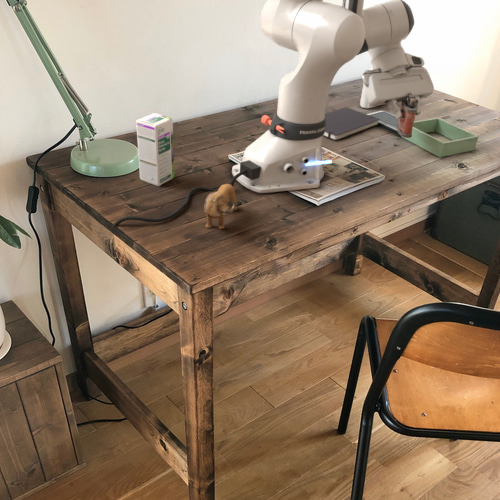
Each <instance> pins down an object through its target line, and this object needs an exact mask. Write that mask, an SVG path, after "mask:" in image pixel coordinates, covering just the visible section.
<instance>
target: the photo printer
mask: <svg viewBox="0 0 500 500" xmlns="http://www.w3.org/2000/svg"><path fill="white" fill-rule="evenodd" d="M369 70H374V69H373V67H371V68H369ZM359 106H360V107H361V108H363V109H366V110H367V109H372V108H376V107H378V106H380V105H378V106H371V105H370V104H369V103H368V100H367V96H366V92H365V87H364V82H363V84H362V89H361V95H360V101H359Z"/></svg>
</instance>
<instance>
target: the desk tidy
mask: <svg viewBox="0 0 500 500" xmlns="http://www.w3.org/2000/svg"><path fill="white" fill-rule="evenodd" d="M434 132H435V133H437V134H439V135H441V136H443V137H445V138H447V139H449V140H450V141H449V140H448V141H442V140H440V139H438V138H436V137H434V136H432V135H430V134H428V133H434ZM400 136H401V135H400ZM401 138H403V139H405V140H407V141H408V142H411V143H413V144H414V145H416V146H417V147H419V148H421V149H424V150H426V151H427V152H429V153H431V154H433V155H434V156H437V157H438V158H444V157H448V156H453V155H458V154H462V153H463V154H464V153H467V152H472V151H475V150H476V147H477V144H478V140H479V136H478V135H477V134H474V133H472V132H470V131H468V130H466V129H464V128H462V127H459V126H457V125H455V124H453V123H451V122H449V121H447V120H445V119H443V118H441V117H434V118H428V119H421V120H416V121H414V124H413V129H412V137H411V138H405V137H402V136H401Z"/></svg>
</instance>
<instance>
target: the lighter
mask: <svg viewBox="0 0 500 500" xmlns="http://www.w3.org/2000/svg"><path fill="white" fill-rule="evenodd" d="M415 102H416V99H415V95H412V93H408V95H407V99H403V100H402V102H401V108H400V110H401V109H403V111H404V114H405V115H404V117H402V118H398V122H397V124H396V131H397V133H398V135H399V136H402V137H401V138H403V137H405V138H411V137H412V129H413V124H414V122H415V119H416V116H417V115H416V112H417V110H418V108H417V105H416V104H415ZM405 138H404V139H405Z"/></svg>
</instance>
